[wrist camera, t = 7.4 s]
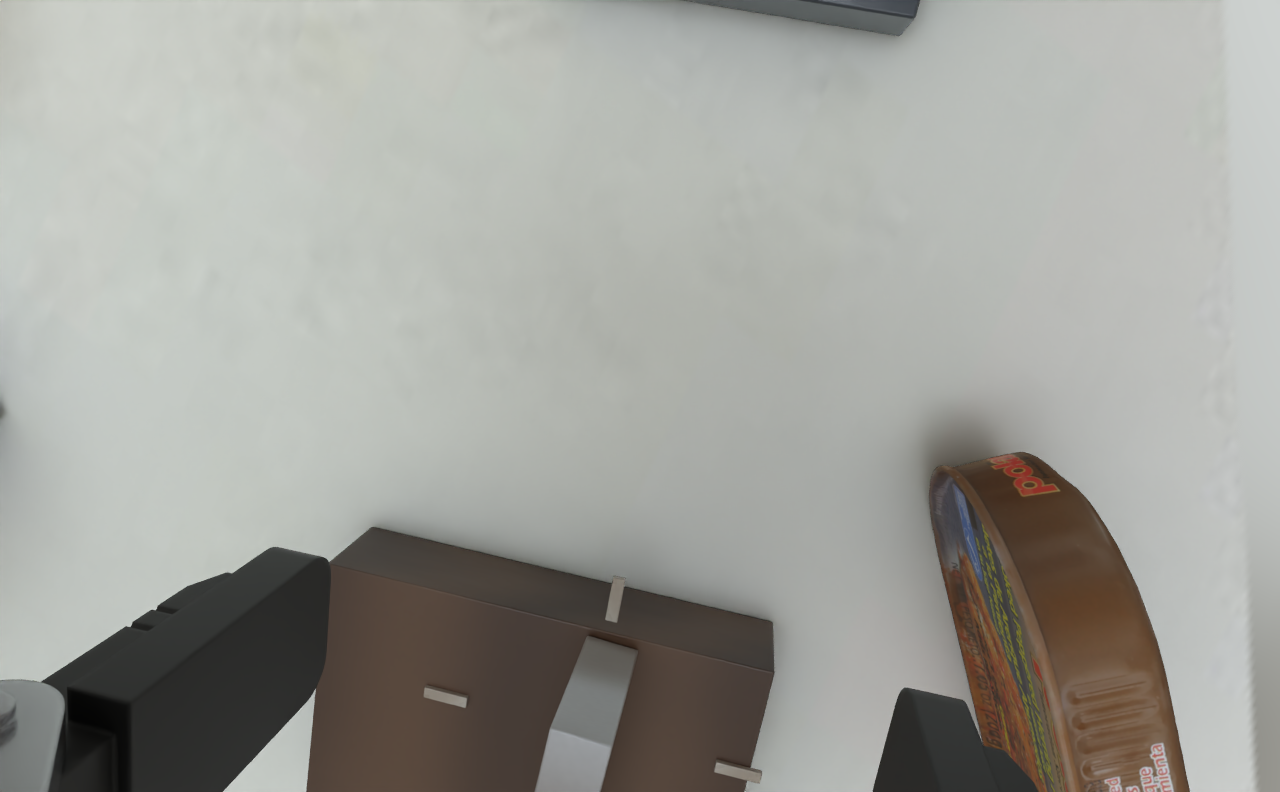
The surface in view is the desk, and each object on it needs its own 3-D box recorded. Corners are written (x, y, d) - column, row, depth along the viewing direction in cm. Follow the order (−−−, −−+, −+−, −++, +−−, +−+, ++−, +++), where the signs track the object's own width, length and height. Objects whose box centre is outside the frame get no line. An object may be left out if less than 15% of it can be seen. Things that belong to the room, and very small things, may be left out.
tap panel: (796, 573, 26) (801, 622, 23) (715, 891, 29) (710, 971, 26) (376, 476, 27) (329, 510, 24) (343, 790, 31) (297, 855, 28)
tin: (908, 432, 24) (984, 544, 16) (1016, 407, 24) (1151, 510, 16) (1007, 850, 27) (1113, 1125, 19) (1106, 837, 27) (1260, 1115, 18)
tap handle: (587, 634, 24) (547, 734, 20) (638, 649, 24) (610, 753, 19) (543, 810, 26) (497, 939, 21) (591, 824, 26) (555, 958, 21)
